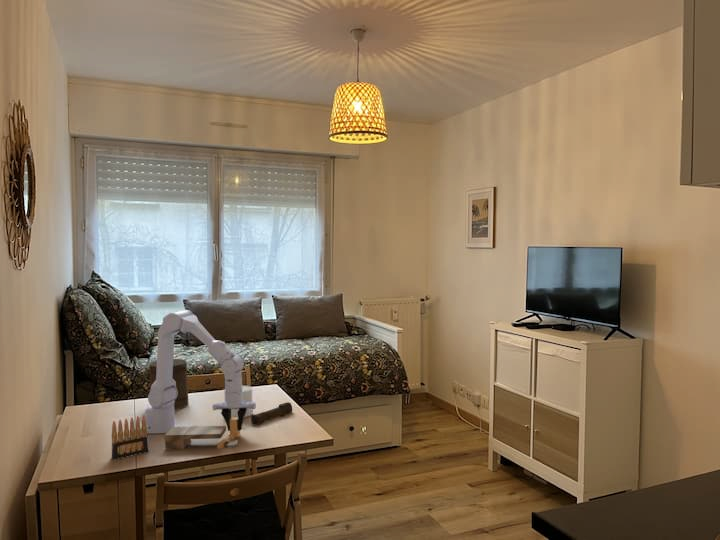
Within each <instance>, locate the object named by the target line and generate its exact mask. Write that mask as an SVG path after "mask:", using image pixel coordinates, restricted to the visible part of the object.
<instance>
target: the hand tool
mask: <svg viewBox="0 0 720 540" xmlns="http://www.w3.org/2000/svg"><path fill="white" fill-rule="evenodd" d="M292 413H293V406H292V403H291V402H289V401H287V402H283V403H281V404H279V405H278V407H274V408H272V409H270V410H266V411H262V412H259V413H257V414H252V415H250V423H251V425H254V426H257V425H259V424H261V423H264V422H267V421H269V420H273V419H275V418H277V417H286V416H288V415H289V414H292ZM285 415H286V416H285Z"/></svg>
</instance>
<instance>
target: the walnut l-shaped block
mask: <svg viewBox="0 0 720 540" xmlns="http://www.w3.org/2000/svg"><path fill="white" fill-rule="evenodd" d="M225 432H227V425H206V426H205V425H204V426H202V425H201V426H199V425H198V426H197V425H195V426H178V427H172V428H171V429H170V430H169V431H168V432H167V433H164V450H165V451H185V449H186V448H187V447H188V445H190V443H191V442H192V440H210V439H221V438H222V437H223V436H224V434H225ZM190 441H191V442H190ZM186 446H187V447H186Z"/></svg>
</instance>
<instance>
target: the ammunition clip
mask: <svg viewBox="0 0 720 540" xmlns="http://www.w3.org/2000/svg"><path fill="white" fill-rule="evenodd" d="M140 421H141V422H140ZM123 426H124V429H123ZM111 427H112V428H111V459H112V460H113V461H114V459H115V460H118V458H119V459H123V458H122V457H124V458H128V457H132V456H131V455H133V456H136V455H135V454H137V455H140V454H139V453H142V454H145V453H144V452H146V453H149V443H148V434H147V428H146V418H145V415H144V414H142V417H141V420H140V418H139V416H136V418H135V420H134V418H133V417H130V422H129V421H128V419H127V418H125V419H124V425H123V423H122V420H121V419H119V420H118V426H117V424H116V422H115V420H113V421H112V426H111ZM117 427H118V428H117ZM117 429H118V430H117ZM127 456H128V457H127Z"/></svg>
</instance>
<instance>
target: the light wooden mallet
mask: <svg viewBox="0 0 720 540" xmlns="http://www.w3.org/2000/svg"><path fill="white" fill-rule="evenodd" d="M238 424H239V421H238V418H237V417H232V418H231V419H230V431H229V434H228V435H226V436H225V437H224V438H223V439H222V440H221V441H219V442H218V443H217V444H216V447H217V449H219V448H222V449H223V448H225V447H226V446H225V441H226V440H229V439H236V438H238V437H240V435H241V430H239V429H238Z"/></svg>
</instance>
